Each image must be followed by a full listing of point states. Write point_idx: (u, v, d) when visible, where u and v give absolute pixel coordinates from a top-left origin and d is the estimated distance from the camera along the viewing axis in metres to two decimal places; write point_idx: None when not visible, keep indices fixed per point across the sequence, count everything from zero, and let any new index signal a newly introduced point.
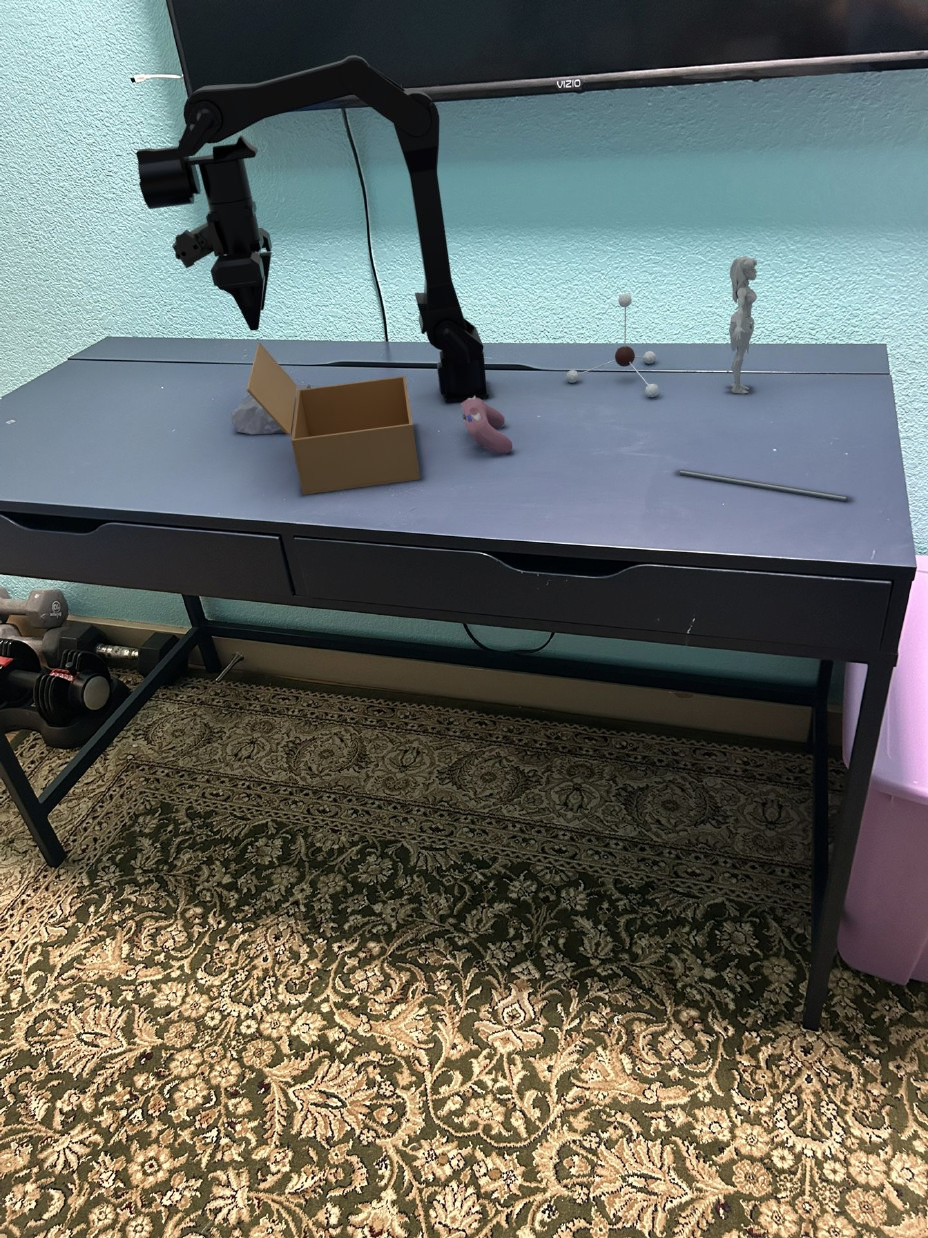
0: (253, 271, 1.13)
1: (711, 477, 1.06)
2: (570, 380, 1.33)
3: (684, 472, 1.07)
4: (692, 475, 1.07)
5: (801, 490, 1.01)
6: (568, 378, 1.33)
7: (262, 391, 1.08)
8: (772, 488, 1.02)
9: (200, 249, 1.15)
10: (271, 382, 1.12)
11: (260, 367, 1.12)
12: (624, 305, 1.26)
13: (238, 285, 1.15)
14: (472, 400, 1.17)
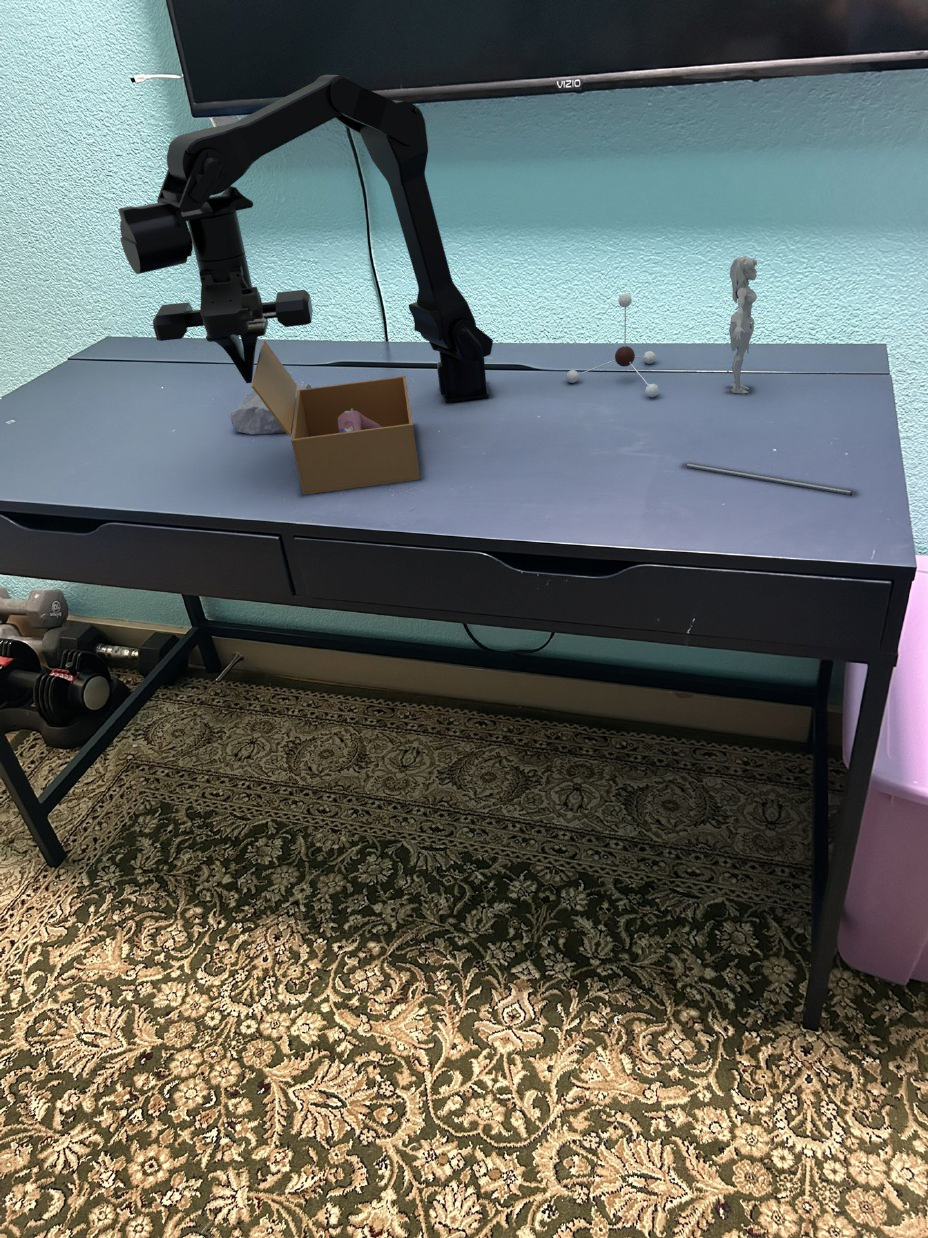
0: None
1: (717, 470, 1.07)
2: (570, 380, 1.33)
3: (691, 465, 1.08)
4: (699, 468, 1.08)
5: (806, 483, 1.02)
6: (568, 378, 1.33)
7: (266, 389, 1.08)
8: (777, 481, 1.04)
9: (261, 302, 1.05)
10: (274, 381, 1.12)
11: (264, 364, 1.12)
12: (624, 305, 1.26)
13: (266, 326, 1.11)
14: (347, 413, 1.17)
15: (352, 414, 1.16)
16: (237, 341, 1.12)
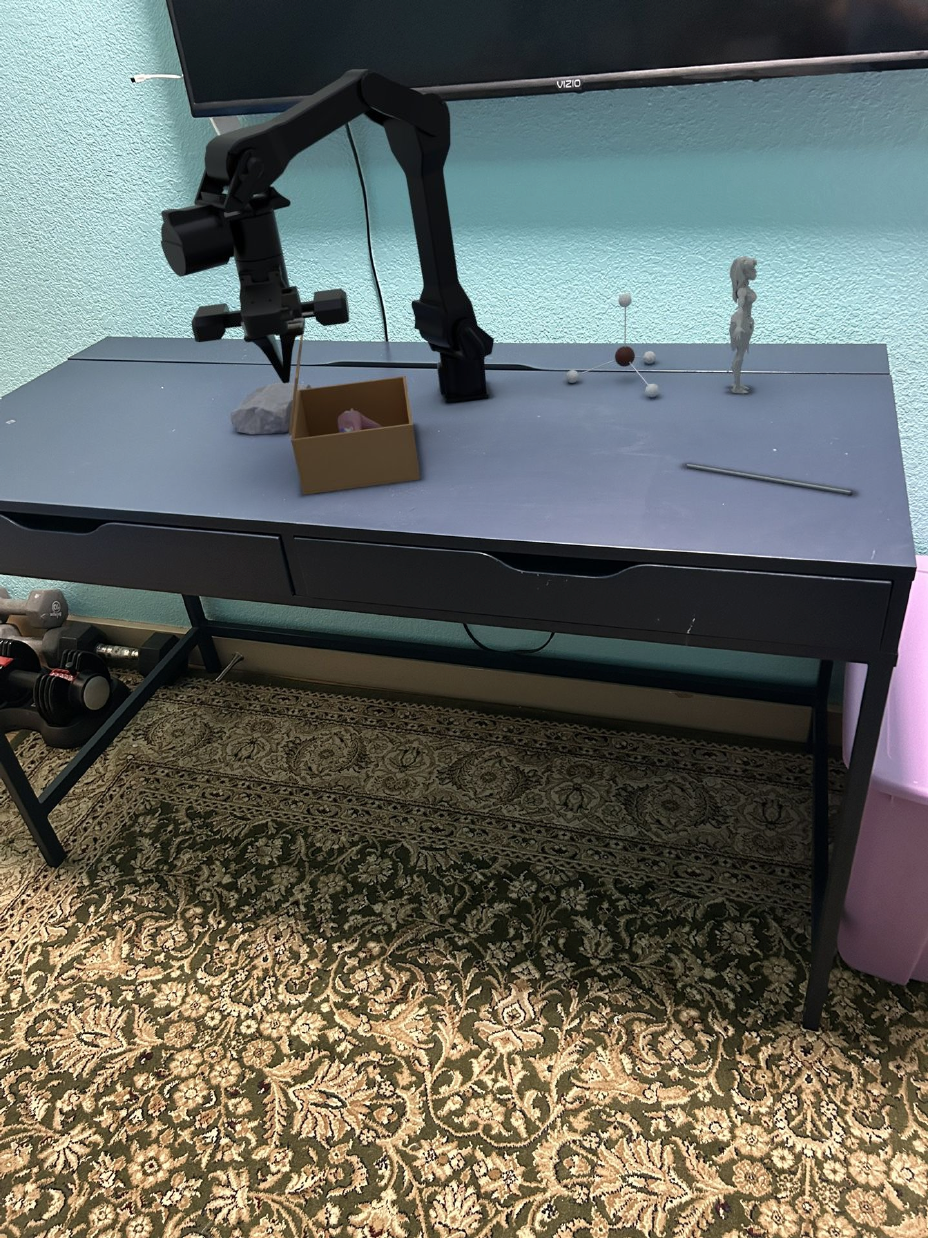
0: (347, 299, 1.12)
1: (717, 470, 1.07)
2: (570, 380, 1.33)
3: (691, 465, 1.08)
4: (698, 468, 1.08)
5: (806, 484, 1.02)
6: (568, 378, 1.33)
7: None
8: (777, 481, 1.04)
9: (300, 302, 1.05)
10: None
11: None
12: (624, 305, 1.26)
13: (304, 325, 1.11)
14: (347, 413, 1.17)
15: (352, 414, 1.16)
16: (274, 341, 1.12)
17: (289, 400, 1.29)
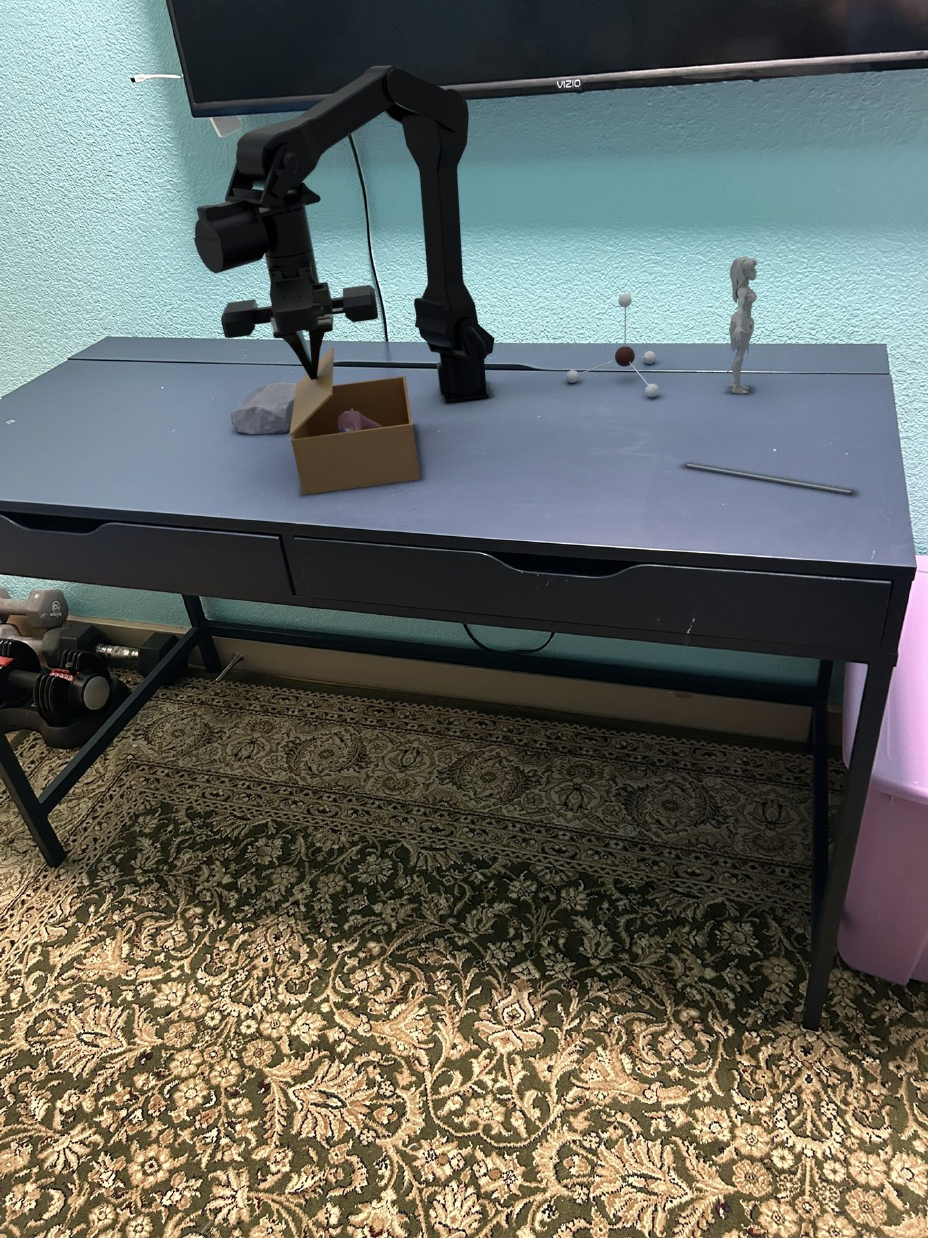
0: None
1: (717, 470, 1.07)
2: (570, 380, 1.33)
3: (691, 465, 1.08)
4: (699, 468, 1.08)
5: (806, 483, 1.02)
6: (568, 378, 1.33)
7: None
8: (778, 481, 1.04)
9: None
10: None
11: None
12: (624, 305, 1.26)
13: (332, 322, 1.11)
14: (347, 413, 1.17)
15: (352, 414, 1.16)
16: (302, 337, 1.12)
17: (289, 400, 1.29)
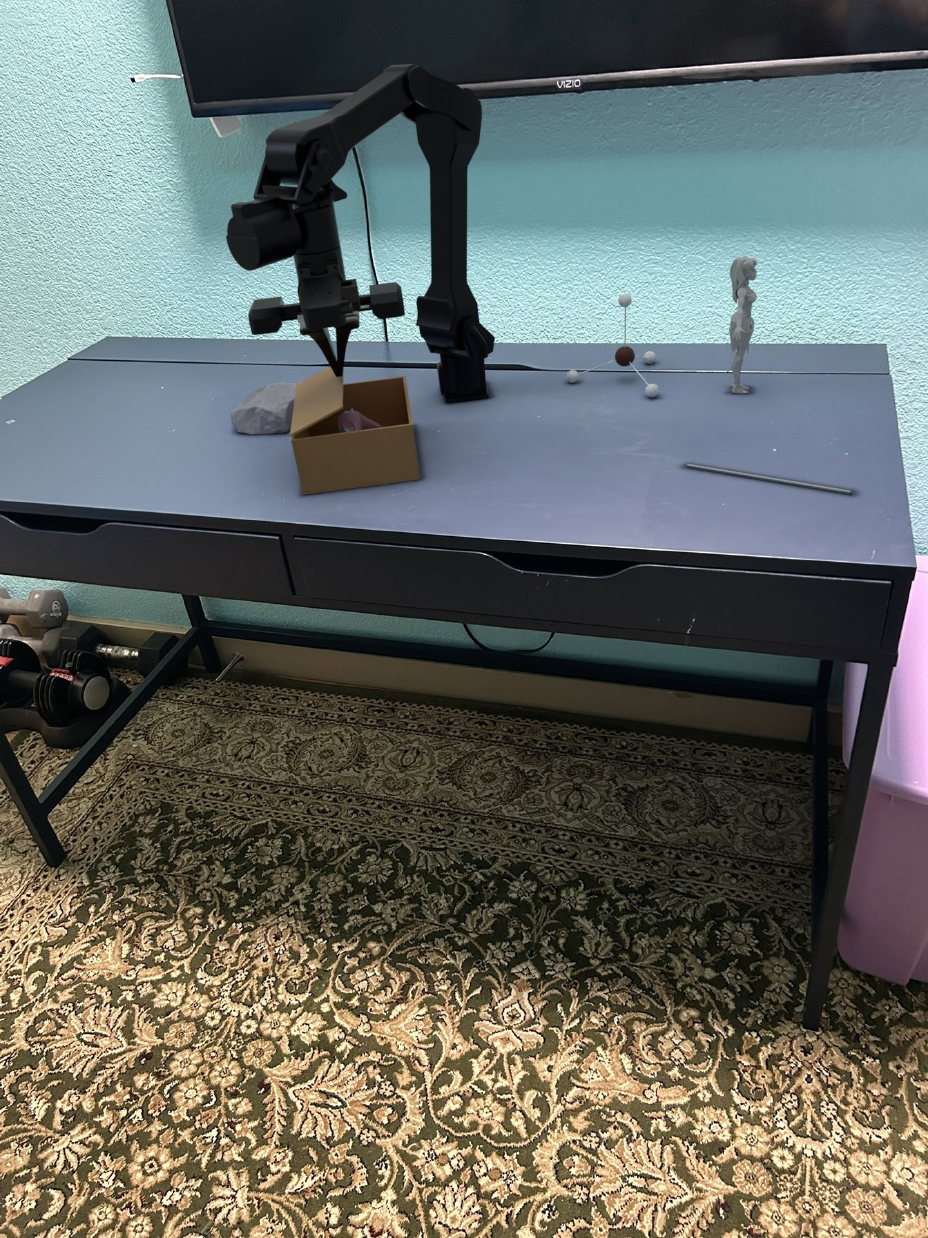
0: None
1: (718, 470, 1.07)
2: (570, 380, 1.33)
3: (691, 465, 1.08)
4: (699, 468, 1.08)
5: (806, 483, 1.02)
6: (568, 378, 1.33)
7: None
8: (778, 481, 1.04)
9: None
10: None
11: None
12: (624, 305, 1.26)
13: None
14: (347, 413, 1.17)
15: (352, 414, 1.16)
16: (328, 335, 1.12)
17: (289, 400, 1.29)
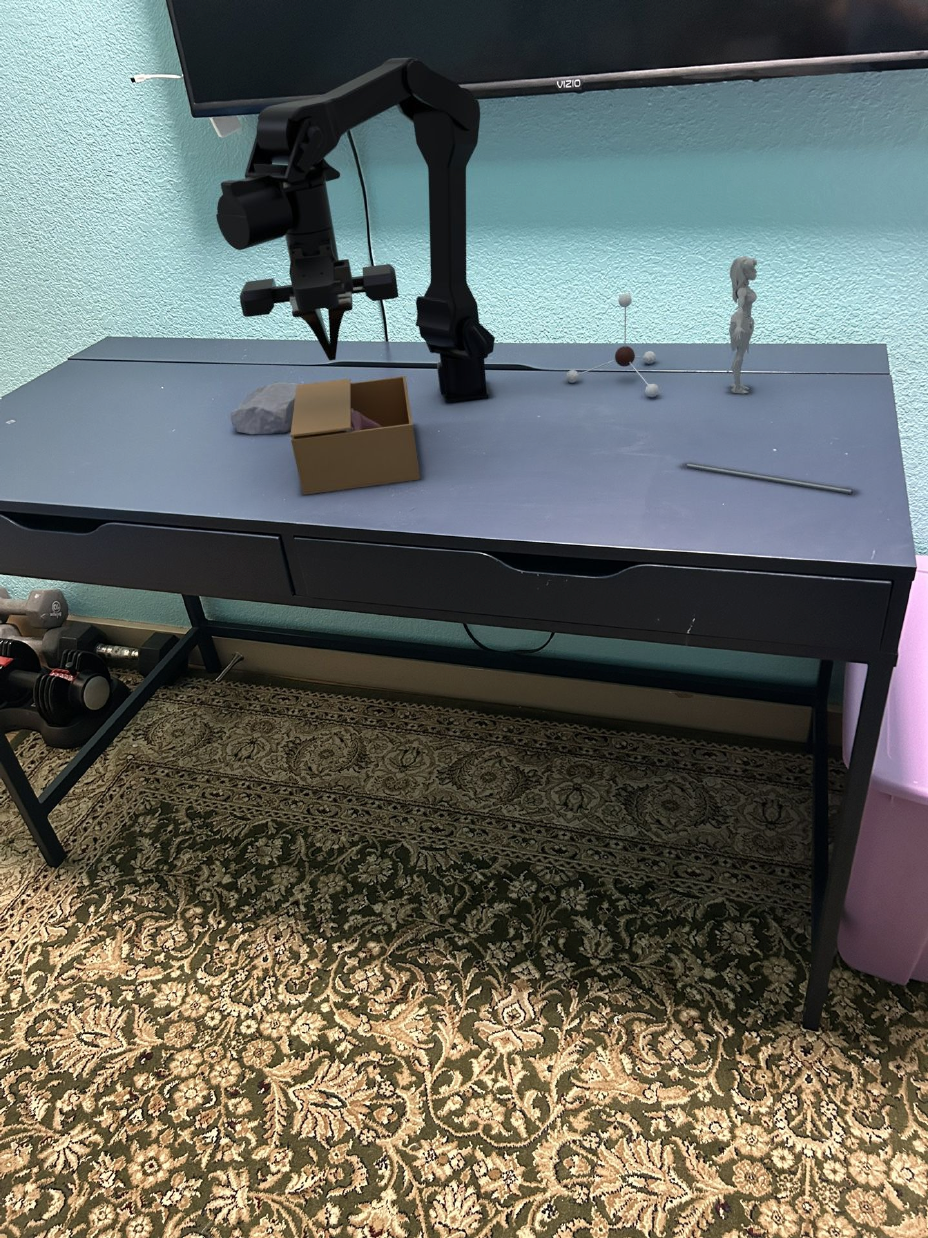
0: None
1: (718, 470, 1.07)
2: (570, 380, 1.33)
3: (691, 465, 1.08)
4: (699, 468, 1.08)
5: (807, 483, 1.02)
6: (568, 378, 1.33)
7: None
8: (778, 481, 1.04)
9: (351, 275, 1.04)
10: None
11: None
12: (624, 305, 1.26)
13: (352, 301, 1.10)
14: None
15: (352, 414, 1.16)
16: (321, 317, 1.11)
17: (289, 400, 1.29)
